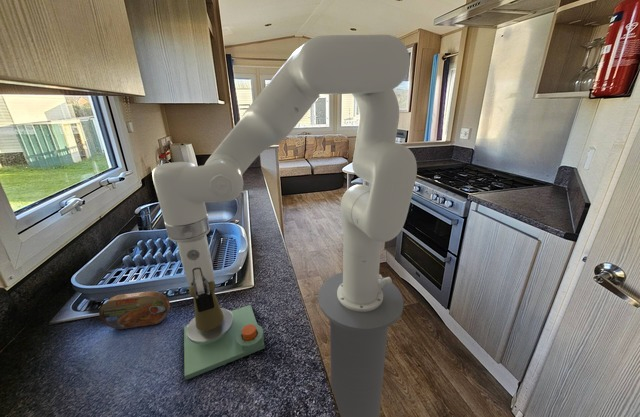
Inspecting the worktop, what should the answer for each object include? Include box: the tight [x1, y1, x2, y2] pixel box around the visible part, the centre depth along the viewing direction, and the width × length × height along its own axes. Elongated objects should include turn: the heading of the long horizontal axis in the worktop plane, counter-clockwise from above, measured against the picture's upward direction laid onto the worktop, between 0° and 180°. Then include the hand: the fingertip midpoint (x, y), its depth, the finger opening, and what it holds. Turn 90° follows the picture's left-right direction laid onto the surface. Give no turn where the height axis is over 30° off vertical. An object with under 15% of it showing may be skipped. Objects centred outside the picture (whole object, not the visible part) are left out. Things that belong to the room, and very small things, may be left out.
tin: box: [98, 290, 171, 330], centre depth 64 cm, size 15×3×8 cm, turn 99°
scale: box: [183, 304, 266, 381], centre depth 60 cm, size 16×14×3 cm
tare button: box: [242, 324, 257, 341], centre depth 58 cm, size 3×3×2 cm
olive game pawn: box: [188, 278, 224, 331], centre depth 58 cm, size 6×6×11 cm
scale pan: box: [187, 307, 234, 344], centre depth 60 cm, size 10×10×1 cm
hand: (205, 299), depth 58 cm, fingers closed on olive game pawn, 5 cm apart
